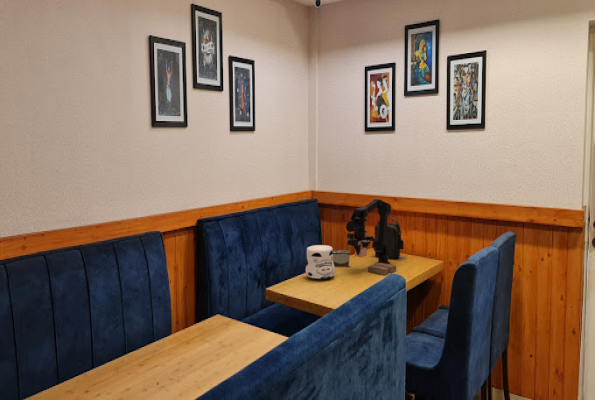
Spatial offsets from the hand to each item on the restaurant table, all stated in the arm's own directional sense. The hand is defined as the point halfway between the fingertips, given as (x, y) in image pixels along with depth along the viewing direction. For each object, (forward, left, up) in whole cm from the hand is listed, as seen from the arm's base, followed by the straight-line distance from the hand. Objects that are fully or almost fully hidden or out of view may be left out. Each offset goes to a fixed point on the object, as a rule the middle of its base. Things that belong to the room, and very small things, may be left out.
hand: (361, 254), depth 286 cm
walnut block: (-7, +10, -11) cm, 17 cm away
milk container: (+26, -10, -11) cm, 30 cm away
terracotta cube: (0, 0, -1) cm, 1 cm away
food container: (-1, -18, -11) cm, 21 cm away
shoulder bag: (-38, -8, -11) cm, 40 cm away
